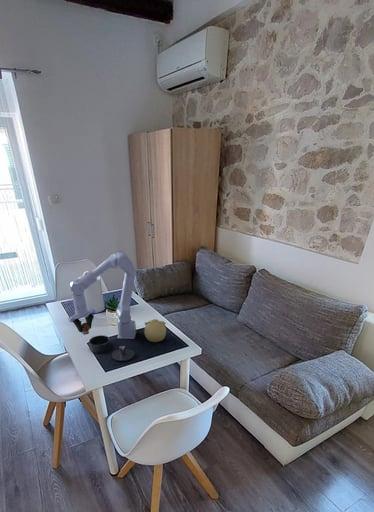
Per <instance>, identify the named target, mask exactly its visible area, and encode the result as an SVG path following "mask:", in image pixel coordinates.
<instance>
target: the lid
mask: <svg viewBox="0 0 374 512" xmlns="http://www.w3.org/2000/svg"><path fill="white" fill-rule="evenodd" d="M134 357H135V351H134V350H133V349H130V348H126V346H124V345H121V346H119V349H116V350H114V351H113V352H112V353H111V358H112V359H113V360H114V361H117V362H127V361H131V360H132V359H134Z"/></svg>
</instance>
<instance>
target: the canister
mask: <svg viewBox="0 0 374 512" xmlns="http://www.w3.org/2000/svg"><path fill="white" fill-rule="evenodd" d="M80 277H81V276H79V277H78V278H80ZM84 296H85V301H86V306H87V310H90V309H95V313H94V314H98V313H101V312H103V311H104V310H105V309H106V308H105V300H104V293H103V285H102V279H101V275H99V276H98V277H97V280H96V282H94V283H93V284H92V285H90V286H89V287H88V288H86V289H85V290H84Z"/></svg>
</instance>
